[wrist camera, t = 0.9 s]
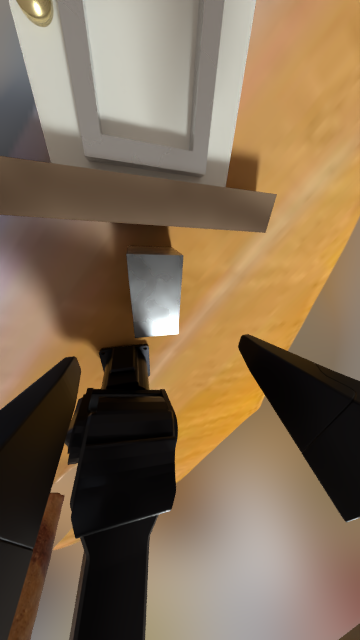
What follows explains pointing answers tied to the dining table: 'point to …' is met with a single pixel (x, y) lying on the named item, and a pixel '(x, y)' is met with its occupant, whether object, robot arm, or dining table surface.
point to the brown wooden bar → (126, 198)
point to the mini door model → (137, 82)
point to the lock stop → (155, 289)
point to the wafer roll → (36, 571)
